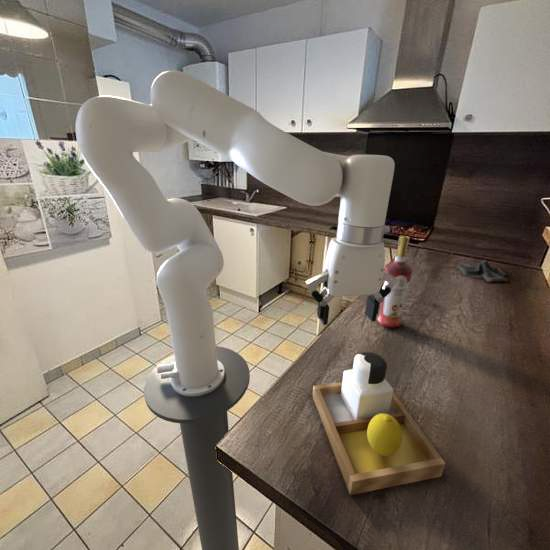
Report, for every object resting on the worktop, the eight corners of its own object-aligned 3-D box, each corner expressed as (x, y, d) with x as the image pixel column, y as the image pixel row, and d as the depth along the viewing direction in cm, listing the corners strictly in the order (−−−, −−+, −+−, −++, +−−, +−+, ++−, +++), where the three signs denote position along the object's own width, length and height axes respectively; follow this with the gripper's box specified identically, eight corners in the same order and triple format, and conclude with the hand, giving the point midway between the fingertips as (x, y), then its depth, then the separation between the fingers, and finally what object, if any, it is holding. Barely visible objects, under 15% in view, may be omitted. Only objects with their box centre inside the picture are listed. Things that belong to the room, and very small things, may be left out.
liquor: (397, 318, 93) (414, 233, 82) (404, 331, 87) (422, 241, 76) (374, 317, 94) (387, 233, 83) (378, 329, 87) (393, 240, 77)
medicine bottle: (369, 390, 64) (377, 345, 59) (388, 416, 58) (398, 368, 53) (339, 396, 62) (345, 350, 58) (355, 424, 56) (363, 375, 51)
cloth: (503, 286, 116) (508, 272, 113) (452, 273, 128) (455, 260, 126) (514, 271, 130) (518, 258, 128) (467, 261, 142) (470, 249, 140)
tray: (350, 495, 45) (352, 481, 44) (312, 397, 63) (313, 385, 62) (441, 476, 48) (445, 463, 47) (379, 387, 66) (382, 376, 65)
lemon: (394, 472, 48) (403, 438, 44) (360, 456, 50) (366, 422, 47) (399, 445, 52) (408, 412, 49) (368, 431, 55) (374, 399, 51)
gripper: (393, 227, 54) (378, 307, 61) (304, 228, 51) (298, 312, 58) (418, 238, 47) (398, 326, 54) (317, 240, 45) (309, 334, 51)
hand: (346, 319), depth 56 cm, fingers open, 9 cm apart
